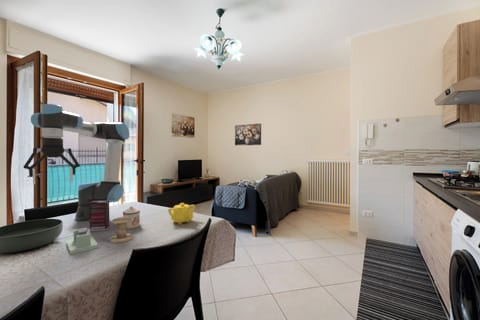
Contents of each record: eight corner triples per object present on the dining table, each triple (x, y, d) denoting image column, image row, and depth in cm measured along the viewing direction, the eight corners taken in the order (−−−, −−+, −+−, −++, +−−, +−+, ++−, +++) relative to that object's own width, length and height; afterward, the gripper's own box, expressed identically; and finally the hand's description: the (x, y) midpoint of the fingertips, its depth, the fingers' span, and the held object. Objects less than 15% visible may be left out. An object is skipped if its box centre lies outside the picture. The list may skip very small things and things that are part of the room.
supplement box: (110, 227, 128) (109, 200, 128) (106, 230, 123) (105, 202, 123) (93, 228, 127) (93, 200, 126) (89, 231, 122) (88, 202, 122)
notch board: (66, 244, 105) (66, 230, 104) (91, 238, 112) (91, 225, 111) (70, 254, 94) (70, 239, 94) (97, 247, 101) (97, 233, 101)
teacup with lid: (134, 229, 126) (134, 208, 126) (119, 228, 127) (119, 208, 126) (145, 222, 138) (145, 203, 138) (131, 222, 139) (131, 203, 138)
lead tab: (77, 241, 104) (76, 229, 104) (84, 240, 106) (84, 227, 106) (79, 245, 99) (78, 232, 99) (87, 244, 101) (86, 231, 101)
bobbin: (107, 238, 112) (107, 218, 112) (129, 233, 119) (129, 215, 118) (113, 244, 105) (113, 223, 104) (135, 239, 112) (135, 219, 111)
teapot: (166, 225, 133) (166, 206, 132) (174, 218, 147) (174, 200, 147) (190, 226, 132) (189, 206, 132) (195, 219, 146) (195, 201, 146)
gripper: (14, 135, 94) (15, 186, 94) (86, 138, 111) (86, 181, 111) (15, 136, 99) (16, 184, 100) (83, 139, 116) (84, 179, 117)
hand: (53, 182), depth 105 cm, fingers open, 13 cm apart
